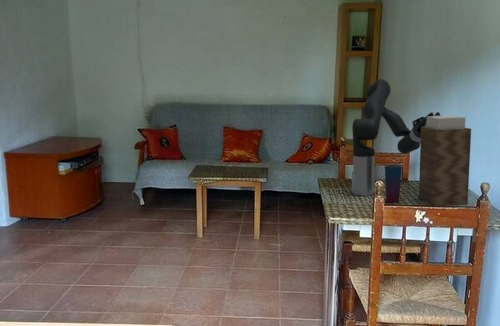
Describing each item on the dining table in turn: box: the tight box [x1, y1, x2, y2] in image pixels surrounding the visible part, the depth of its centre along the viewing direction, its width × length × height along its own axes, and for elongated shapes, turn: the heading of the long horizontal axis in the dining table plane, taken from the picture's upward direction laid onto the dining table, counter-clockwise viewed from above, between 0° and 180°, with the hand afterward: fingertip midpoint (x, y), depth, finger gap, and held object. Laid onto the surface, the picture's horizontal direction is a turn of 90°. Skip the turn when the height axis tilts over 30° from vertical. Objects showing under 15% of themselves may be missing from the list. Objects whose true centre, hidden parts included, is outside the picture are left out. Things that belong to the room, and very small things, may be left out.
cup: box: [384, 163, 403, 204], centre depth 191 cm, size 7×7×15 cm
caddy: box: [426, 113, 466, 130], centre depth 190 cm, size 11×21×6 cm, turn 2°
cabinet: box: [418, 127, 472, 206], centre depth 188 cm, size 14×14×30 cm
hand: (435, 114), depth 194 cm, fingers closed on caddy, 2 cm apart
